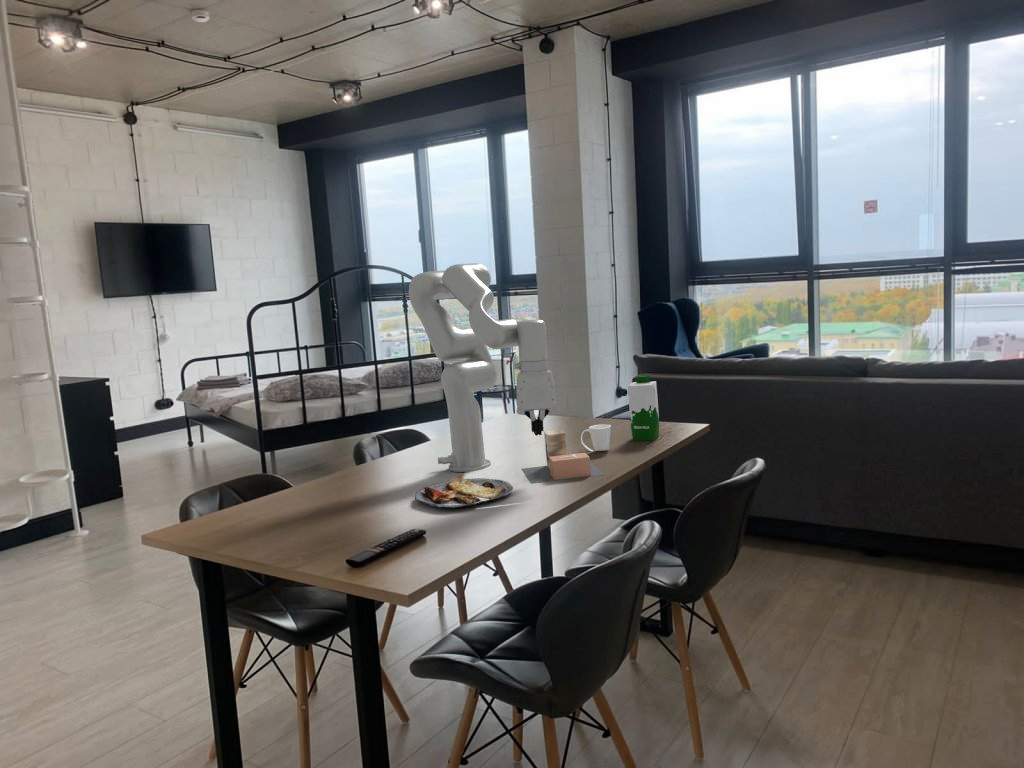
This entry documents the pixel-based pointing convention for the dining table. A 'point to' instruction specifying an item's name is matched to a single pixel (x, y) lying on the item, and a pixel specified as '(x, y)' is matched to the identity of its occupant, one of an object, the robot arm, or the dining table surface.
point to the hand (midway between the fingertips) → (537, 434)
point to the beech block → (555, 444)
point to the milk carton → (643, 409)
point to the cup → (599, 437)
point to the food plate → (463, 492)
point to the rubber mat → (544, 475)
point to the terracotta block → (570, 466)
